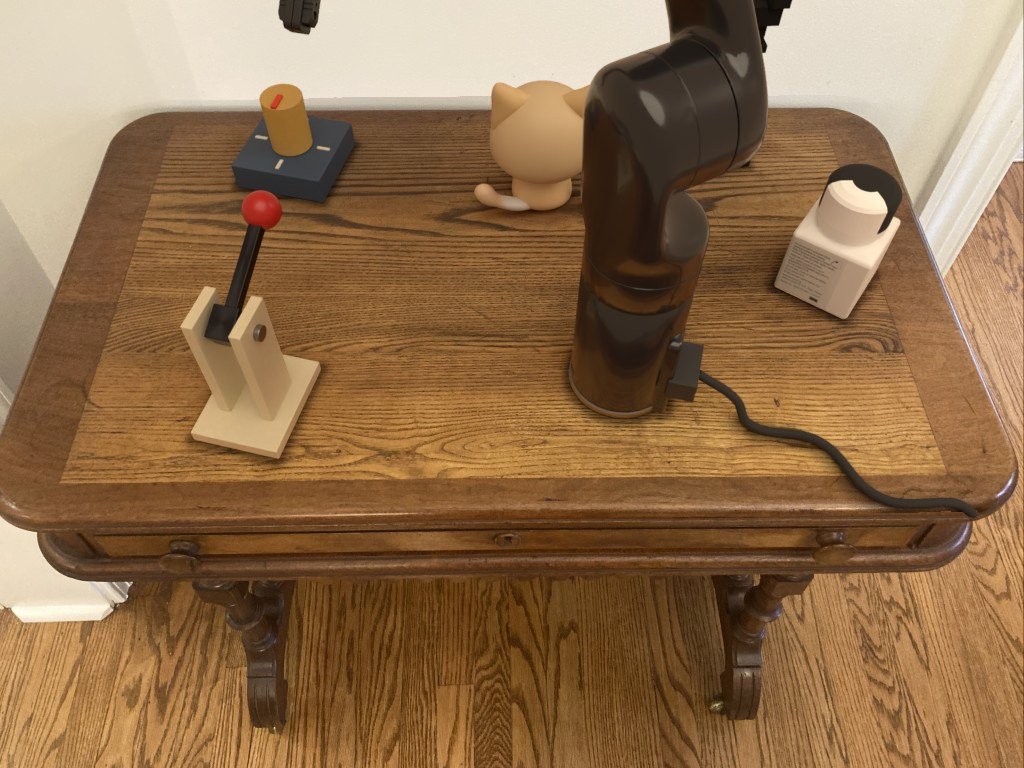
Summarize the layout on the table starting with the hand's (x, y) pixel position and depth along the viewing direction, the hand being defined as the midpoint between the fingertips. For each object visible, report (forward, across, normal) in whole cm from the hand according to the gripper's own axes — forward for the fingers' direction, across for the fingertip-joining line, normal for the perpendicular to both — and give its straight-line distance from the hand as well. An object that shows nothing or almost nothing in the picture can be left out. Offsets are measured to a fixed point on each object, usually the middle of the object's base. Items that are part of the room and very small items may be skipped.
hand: (296, 31), depth 69 cm
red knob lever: (+20, 0, -2) cm, 20 cm away
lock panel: (+10, -9, +24) cm, 28 cm away
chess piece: (-1, +35, +35) cm, 49 cm away
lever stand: (+32, 0, +2) cm, 32 cm away
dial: (+8, -9, +22) cm, 25 cm away
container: (+12, +49, +22) cm, 55 cm away
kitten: (+8, +19, +26) cm, 33 cm away
